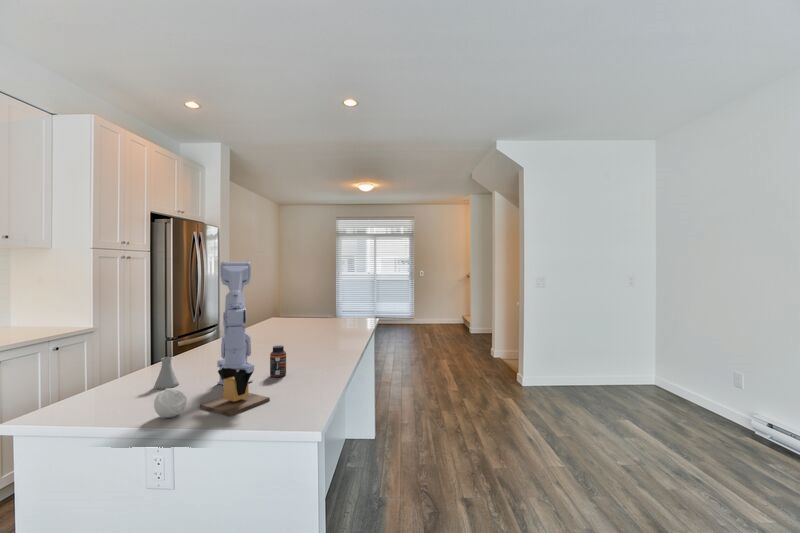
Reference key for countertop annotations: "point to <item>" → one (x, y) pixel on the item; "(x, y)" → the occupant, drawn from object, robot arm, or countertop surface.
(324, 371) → the countertop surface
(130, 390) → the countertop surface
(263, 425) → the countertop surface
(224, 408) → the flat brown square board
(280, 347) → the supplement bottle
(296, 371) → the countertop surface
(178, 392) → the white ridged ball
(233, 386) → the golden yellow cube
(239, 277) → the robot arm
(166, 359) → the flask
